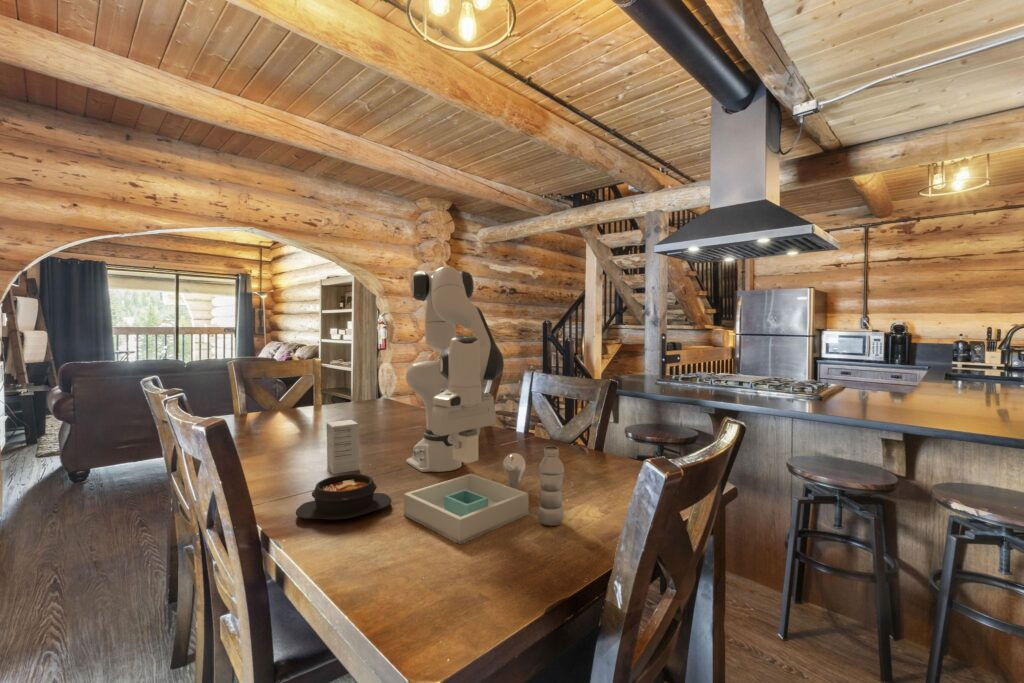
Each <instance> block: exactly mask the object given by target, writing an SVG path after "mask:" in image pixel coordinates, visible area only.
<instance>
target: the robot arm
mask: <svg viewBox="0 0 1024 683" xmlns="http://www.w3.org/2000/svg"><path fill="white" fill-rule="evenodd" d="M409 288H410V292H411V294H412V297H413V298H414V299H415V300H416V301H421V302H425V301H426V304H425V310H424V311H425V313H424V330H425V332H424V335H425V336H424V337H425V343H426V346H427V347H428V348H430V350H433V351H435V352H436V353H437V352H438V353H439V360H423V361H419V362H414V363H411V364H410V365H409V367H408V368H407V370H406V373H405V379H406V383H407V386H408V387H409V388H410V389H411V390H412V391H414V392H415V393H416V394H417V395H418V396H419V397H420V399H421V400H422V402H423V405H424V408H425V415H426V416H425V418H426V428H423V429H422V430H423V431H422V433H424V434H423V437H422V439H421V440H419V441H418V442H417V443H416V444H415V445H414V446H413V448H412V449H413V450H412V456H411V457H409V458H407V459H406V463H407V464H409V465H410V466H411V467H413V468H414V469H416V470H418V471H419V472H423V473H425V472H426V473H427V472H438V473H441V472H450V471H454V470H457V469H460V468H461V467H462V465H463V464H462V463H463V462H461V461H458V460H455V459H453V447H454V448H455V449H459V448H461V447H462V446H461V445H462V442H460V441H459V440H458V438H457V437H458V436H459V432H463V431H468V430H474V431H476V434H477V435H478V437H479V436H480V433H481V428H485V427H490V426H495V423H496V422H497V414H496V413H497V412H496V406H495V405H496V404H495V398H494V395H493V394H491V393H490V392H485V393H484V392H483V393H482V380H483V381H494V380H495V379H497V378H498V377H500V375H501V374H502V373H503V371H504V366H505V365H504V364H505V363H504V358H503V354H502V351H501V350H500V349H499V347H498V345H497V344H496V342H495V339H494V337H493V335H492V332H491V331H490V328H489V325H488V324H487V320H486V319H485V317H484V314H483V312H482V311H481V308H480V307H479V306H477V305H475V304H474V303H472V301H471V300H470V298H471V297H473V292H474V290H475V283H474V278H473V276H472V275H471V273H470V272H468V271H463V270H460V271H458V270H457V269H455V267H452V266H442V267H439V268H438V269H436V270H433V269H432V270H426V271H425V270H418V271H415V272H414V273H413V274H412V277H411V280H410V283H409ZM456 325H457V326H460V327H463V328H466V329H468V330H470V332H472V333H473V335H474V336H471V335H466V334H465V335H464V334H463V335H457V331H456V330H457V329H456V328H457V327H456Z"/></svg>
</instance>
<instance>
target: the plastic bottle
mask: <svg viewBox="0 0 1024 683" xmlns="http://www.w3.org/2000/svg"><path fill="white" fill-rule="evenodd" d="M543 456H544V457H543V458H542V460H541V462H540V463H539V466H538V473H539V482H540V496H539V497H540V498H539V505H538V511H537V515H538V517H537V518H538V520H539V522H540V524H542V525H544V526H548V527H551V526H552V527H553V526H554V527H555V526H559V525H560V524H561V523H562V522H563V520H564V515H565V514H564V507H563V498H562V497H563V496H562V488H563V480H564V472H565V467H564V464H563V462H562V461H561V459H560V458H559V457H558V456H560V453H559V447H557V446H554V445H553V446H552V445H548V446H544V448H543Z"/></svg>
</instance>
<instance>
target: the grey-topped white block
mask: <svg viewBox="0 0 1024 683" xmlns="http://www.w3.org/2000/svg"><path fill="white" fill-rule="evenodd" d="M457 438H458V440H459V441H460V442H462V445H461V446H462V447H461V448H459V449H455V448H454V447H453V459H455V460H458V461H461V462H462V463H465V464H470V463H474V462H478V461H479V436H478V435H477V434H476V431H474V430H468V431H463V432H459V436H458V437H457Z"/></svg>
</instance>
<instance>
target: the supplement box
mask: <svg viewBox="0 0 1024 683" xmlns="http://www.w3.org/2000/svg"><path fill="white" fill-rule="evenodd" d="M359 432H360V430H359V423H358V422H356V421H355V420H353V419H347V420H339V421H338V420H336V421H329V422H326V458H327V460H326V461H327V463H326V465H327V466H326V468H327V470H328V471H329V472H331V473H332V475H337V474H342V473H343V474H344V473H348V472H354V471H360V441H359V440H360V439H359V436H360V434H359Z"/></svg>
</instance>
